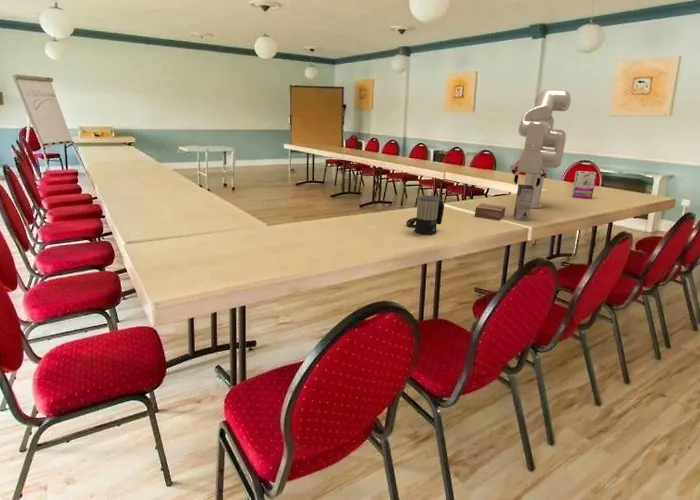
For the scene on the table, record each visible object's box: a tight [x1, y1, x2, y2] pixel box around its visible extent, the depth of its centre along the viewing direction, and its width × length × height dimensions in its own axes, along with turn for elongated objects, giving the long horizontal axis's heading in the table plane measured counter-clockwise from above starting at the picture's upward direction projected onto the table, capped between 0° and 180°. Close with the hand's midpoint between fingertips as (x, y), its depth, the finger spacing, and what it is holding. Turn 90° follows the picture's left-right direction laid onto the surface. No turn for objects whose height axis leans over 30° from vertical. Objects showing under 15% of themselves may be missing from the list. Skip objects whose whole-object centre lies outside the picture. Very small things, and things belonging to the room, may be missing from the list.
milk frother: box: [405, 194, 445, 236], centre depth 199 cm, size 14×16×15 cm
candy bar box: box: [571, 170, 598, 200], centre depth 296 cm, size 11×5×16 cm, turn 81°
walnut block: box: [474, 203, 507, 221], centre depth 232 cm, size 12×12×5 cm
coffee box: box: [513, 183, 534, 222], centre depth 230 cm, size 9×6×16 cm
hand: (526, 185), depth 227 cm, fingers open, 9 cm apart
